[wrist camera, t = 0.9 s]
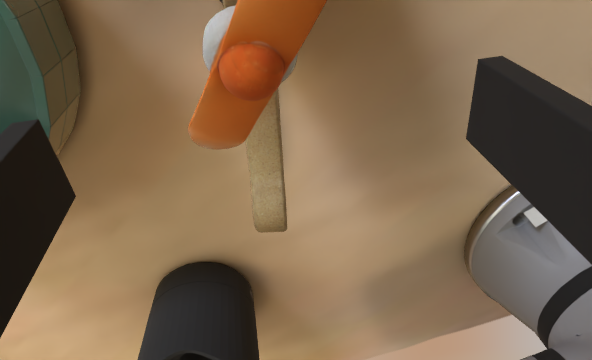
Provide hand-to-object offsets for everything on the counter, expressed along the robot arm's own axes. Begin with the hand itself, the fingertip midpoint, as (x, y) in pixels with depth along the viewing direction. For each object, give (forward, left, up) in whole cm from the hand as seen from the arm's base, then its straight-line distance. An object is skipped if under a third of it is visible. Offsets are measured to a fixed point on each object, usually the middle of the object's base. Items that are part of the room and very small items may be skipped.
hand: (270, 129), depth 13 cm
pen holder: (-23, +8, -16) cm, 29 cm away
